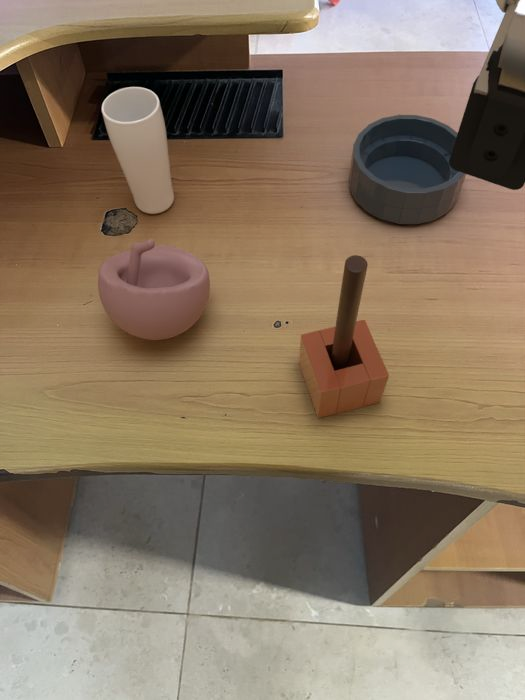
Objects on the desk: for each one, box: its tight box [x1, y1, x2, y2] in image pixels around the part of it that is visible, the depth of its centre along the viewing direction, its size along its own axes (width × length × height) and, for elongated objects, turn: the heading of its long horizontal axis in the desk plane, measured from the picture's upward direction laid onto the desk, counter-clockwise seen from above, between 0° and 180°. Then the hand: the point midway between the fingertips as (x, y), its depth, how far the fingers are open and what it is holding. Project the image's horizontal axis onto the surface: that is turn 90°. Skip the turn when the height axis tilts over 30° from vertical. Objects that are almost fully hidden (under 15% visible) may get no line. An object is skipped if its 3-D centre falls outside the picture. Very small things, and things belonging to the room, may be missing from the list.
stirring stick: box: [331, 254, 369, 371], centre depth 54 cm, size 2×2×20 cm
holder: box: [298, 318, 390, 419], centre depth 60 cm, size 7×7×6 cm
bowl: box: [348, 114, 467, 225], centre depth 75 cm, size 15×15×6 cm
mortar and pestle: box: [97, 238, 211, 341], centre depth 63 cm, size 12×12×12 cm
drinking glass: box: [101, 86, 175, 215], centre depth 71 cm, size 7×7×15 cm
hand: (520, 110), depth 26 cm, fingers open, 9 cm apart
